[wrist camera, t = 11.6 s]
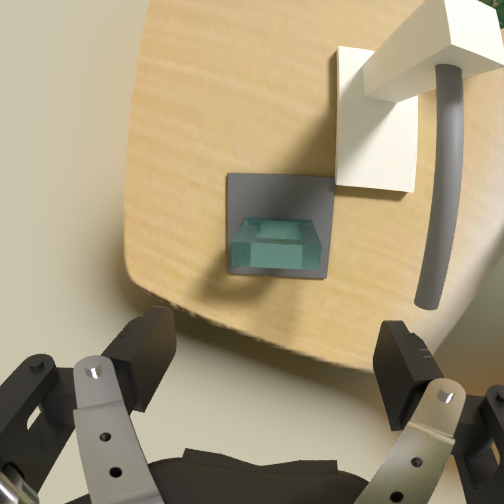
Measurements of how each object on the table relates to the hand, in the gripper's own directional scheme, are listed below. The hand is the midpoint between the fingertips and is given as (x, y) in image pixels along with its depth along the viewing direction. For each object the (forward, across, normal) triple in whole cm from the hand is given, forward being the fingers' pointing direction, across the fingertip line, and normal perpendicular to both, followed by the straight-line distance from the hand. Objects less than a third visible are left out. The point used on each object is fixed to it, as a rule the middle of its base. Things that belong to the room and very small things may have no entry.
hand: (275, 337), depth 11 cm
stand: (+17, -8, -8) cm, 20 cm away
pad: (+17, 0, 0) cm, 17 cm away
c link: (+16, 0, 0) cm, 16 cm away
